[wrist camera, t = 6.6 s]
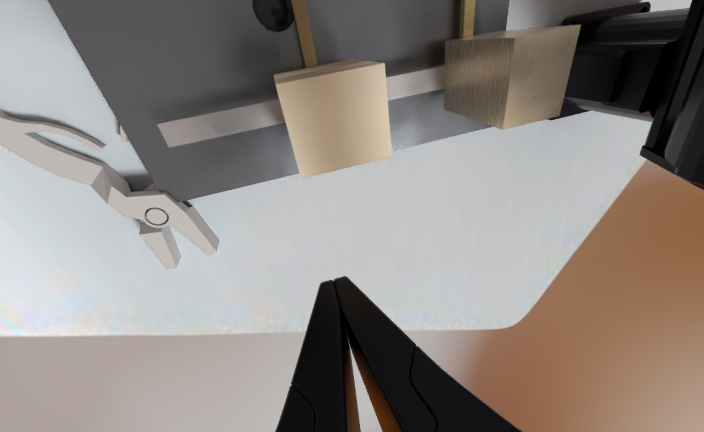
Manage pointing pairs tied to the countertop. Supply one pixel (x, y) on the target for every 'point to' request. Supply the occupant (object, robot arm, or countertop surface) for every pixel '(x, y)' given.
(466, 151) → the countertop surface
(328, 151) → the block
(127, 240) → the countertop surface
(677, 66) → the robot arm
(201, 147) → the plate
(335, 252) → the countertop surface
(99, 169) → the pliers
